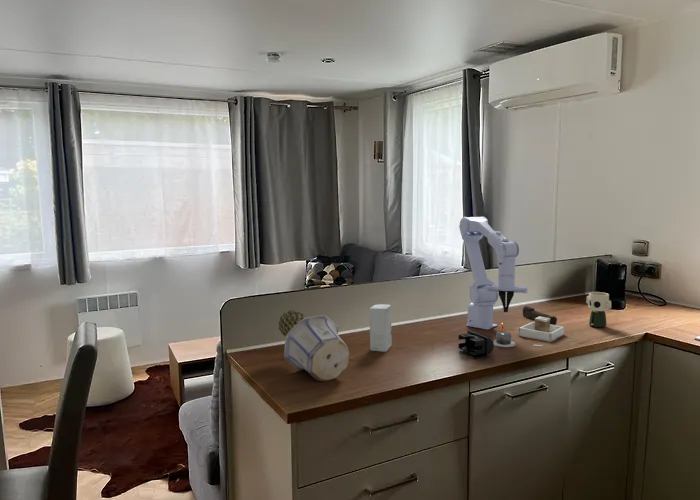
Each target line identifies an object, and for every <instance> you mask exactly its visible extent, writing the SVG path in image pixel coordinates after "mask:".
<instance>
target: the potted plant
mask: <svg viewBox="0 0 700 500" xmlns="http://www.w3.org/2000/svg"><path fill="white" fill-rule="evenodd" d="M278 319H279V320H278V322H277V323H278V330H279V331H280V333H281V334H282V336H283V337H285V339H284V351H283V352H284V353H283V354H284V359H285V360H286V361H287V362H288V363H289V364H290V365H292V366H293V368H295V369H296V370H298V371H302V370H303V371H304V370H305V372H307V373H308V374H309V375H310V376H311V377H312V378H313V379H315V380H316V381H319V382H326V381H330V380H331V381H332V380H333V379H336V378H337V377H338V376H339V375H340V374H341V373H342V372H343V371H344V370H346V369H347V366H348V365H349V359H350V349H349V347H348V346H347V344H346V343H345V342H344V340H343V339H342V338H341V337H340V335H339V326H338V325H337V324H336V323H335V321H333V320H332V319H331V318H329V316H327V315H325V314H321V315H314V316H307V317H305V316H304V314H303V313H301V312H299V311H297V310H291V309H289V310H287V311H284V312H283V313H281V315H280V317H279V318H278Z"/></svg>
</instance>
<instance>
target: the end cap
mask: <svg viewBox="0 0 700 500" xmlns="http://www.w3.org/2000/svg"><path fill="white" fill-rule="evenodd" d="M460 340H464V342H459V343H458V342H457V343H458V344H457V345H458V349H459V350H458V352H459V353H460V354H462V355H464V356H467V357H469V358H471V359H473V358H474V359H473V360H480V359H485V358H487V357H489V355H491V354H492V353H493V351H494V348H495V346H494V343H493V339H492V338H491V337H488V336H485V335H482V334H480V333H478V332H475V331H473V330H467V332H466V333H462V334H458V341H460Z"/></svg>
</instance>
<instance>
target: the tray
mask: <svg viewBox="0 0 700 500" xmlns="http://www.w3.org/2000/svg"><path fill="white" fill-rule="evenodd" d="M564 335H565V326H560V325H557V324H556V325H550V333H547V332H542V331H536V330H535V321H531V322H529V323H527V324H524V325H523V326H521V327H518V337H523V338H528V339H532V340H537V341H538V340H539V341H545V342H554V341H555V340H557V339H560V337H563V336H564Z"/></svg>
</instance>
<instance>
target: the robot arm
mask: <svg viewBox="0 0 700 500" xmlns="http://www.w3.org/2000/svg"><path fill="white" fill-rule="evenodd" d="M460 219H461V220H460V222H459V226H458V227H459V231H460V235H461V239H462V240H463V241H464V245H465V249H466V253H467V258H468V261H469V266H470V269H471V273H472V277H473V282H472V283H471V284H470V286H469V288H468V289H469V300H470V301H471V302H470V303H469V304H468V306H467V319H466V320H467V324H466V326H467V327H471V328H472V327H473V328H477V329H483V330H490V329H493V328H494V327H497V326H498V324H496V323H494V305H496V302H498V299H500V301H501V304H502V308H503V313H508V312H509V308H510V304H511V302H512V299H513V298H514V295H515V293H519V294H520V293H521V294H528V287H527V286H516V284H515V282H516V258H517V256H518V255H519V253H520V247H519V244H518V243H517V242H516V241H515V240H509V239H508V238H507V237H505V235H503V234H502V232H501V231H499V230H498V231H497V230H494V229H493V228H492V227H491V225H490V224H489V220H488V218H486V217H485V216H470V217H469V216H468V217H467V216H463V217H462V218H460ZM484 237H486V238H487V243H488V244H489V245H490V246H491V247H492V248H493V249H494V250H495V254H496V257H497V258H496V259H497V260H496V261H497V262H498V277H497V278H498V281H497V282H498V283H497V285H495V282H494V281H492V280H491V279H489V278H488V276H487V272H486V268H485V264H484V260H483V259H484V258H483V256H482V252H481V251H482V250H481V248H480V244H479V241H480V240H482V239H483V238H484Z"/></svg>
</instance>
